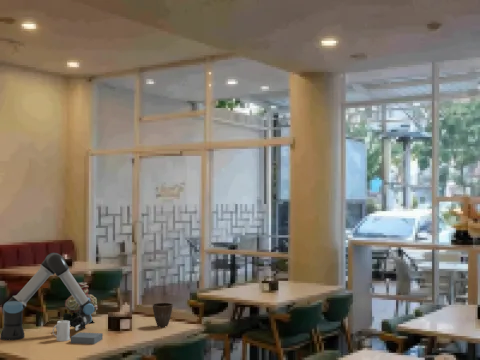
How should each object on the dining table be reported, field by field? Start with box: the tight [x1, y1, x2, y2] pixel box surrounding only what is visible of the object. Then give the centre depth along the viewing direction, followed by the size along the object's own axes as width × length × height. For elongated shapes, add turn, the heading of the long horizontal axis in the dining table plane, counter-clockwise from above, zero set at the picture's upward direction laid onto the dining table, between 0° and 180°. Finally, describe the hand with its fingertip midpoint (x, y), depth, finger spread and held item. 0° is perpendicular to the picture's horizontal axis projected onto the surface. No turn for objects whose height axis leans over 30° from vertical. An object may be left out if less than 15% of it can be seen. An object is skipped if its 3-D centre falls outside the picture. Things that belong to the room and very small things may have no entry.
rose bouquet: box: [62, 281, 99, 323], centre depth 450 cm, size 26×29×30 cm
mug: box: [52, 319, 71, 342], centre depth 385 cm, size 12×8×12 cm
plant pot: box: [152, 302, 173, 328], centre depth 434 cm, size 15×15×16 cm
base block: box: [70, 332, 103, 345], centre depth 382 cm, size 16×14×4 cm
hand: (66, 328), depth 392 cm, fingers open, 13 cm apart
